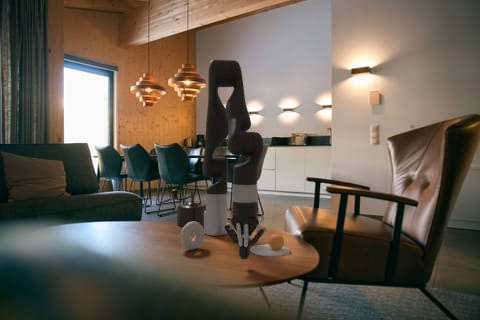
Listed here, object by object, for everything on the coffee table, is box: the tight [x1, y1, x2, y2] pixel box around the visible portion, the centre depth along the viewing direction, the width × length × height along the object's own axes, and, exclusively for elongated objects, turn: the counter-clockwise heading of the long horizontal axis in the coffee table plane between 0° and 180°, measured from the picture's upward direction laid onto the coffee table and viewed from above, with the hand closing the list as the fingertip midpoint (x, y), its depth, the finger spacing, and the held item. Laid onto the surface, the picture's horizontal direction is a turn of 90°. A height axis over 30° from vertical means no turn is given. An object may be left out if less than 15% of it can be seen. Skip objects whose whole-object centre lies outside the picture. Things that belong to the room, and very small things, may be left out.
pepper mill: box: [169, 188, 206, 228], centre depth 148 cm, size 16×11×18 cm
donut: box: [179, 221, 205, 251], centre depth 108 cm, size 10×4×10 cm, turn 139°
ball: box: [268, 233, 285, 250], centre depth 109 cm, size 6×6×6 cm
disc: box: [250, 243, 291, 257], centre depth 108 cm, size 14×14×1 cm
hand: (244, 258), depth 90 cm, fingers closed
